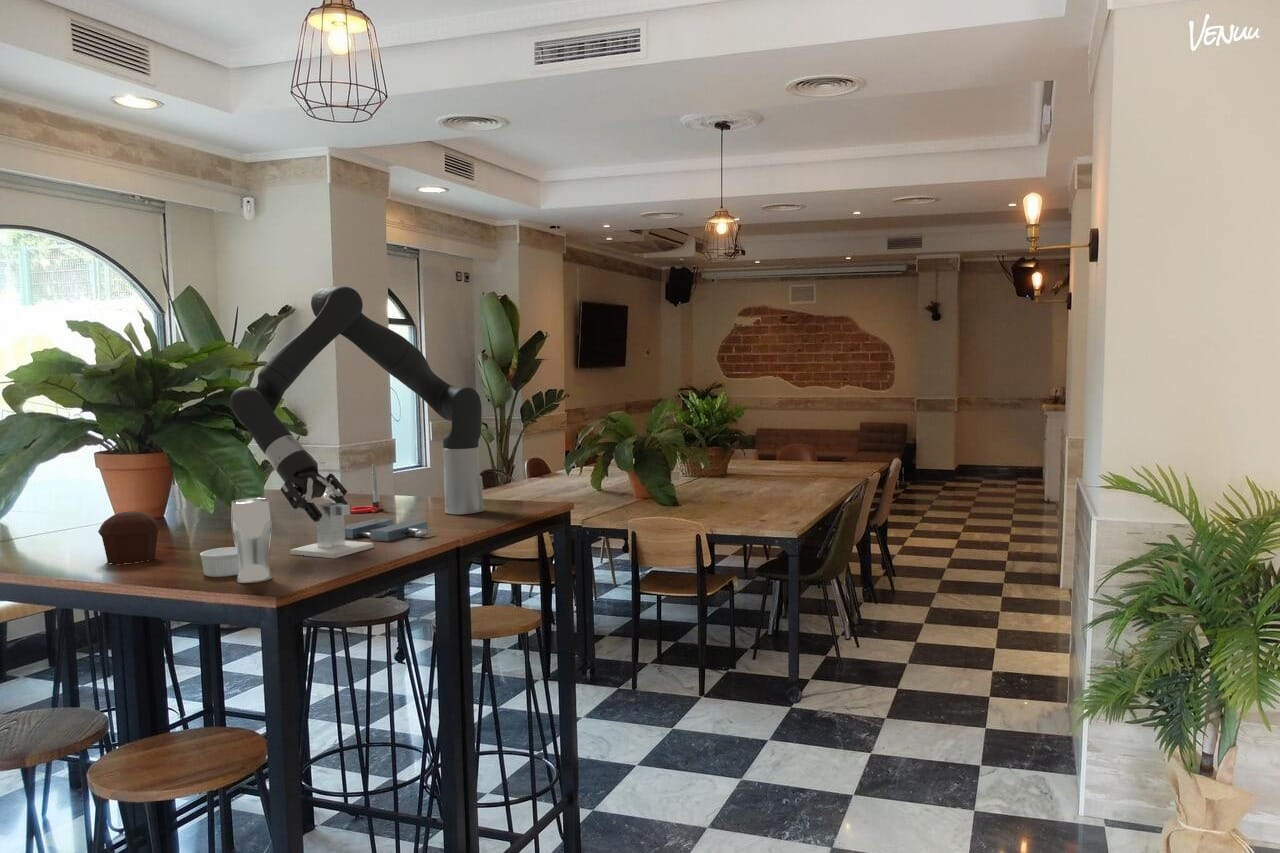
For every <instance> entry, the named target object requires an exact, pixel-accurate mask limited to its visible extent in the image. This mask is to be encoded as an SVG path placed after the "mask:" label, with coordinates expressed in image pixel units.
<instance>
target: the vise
mask: <svg viewBox="0 0 1280 853" xmlns="http://www.w3.org/2000/svg"><path fill="white" fill-rule="evenodd" d="M344 526H345V539H357V538H370V541H374V542H375V541H376V542H378V541H379V542H386V543H387V542H391V541H395V540H399V539H403V538H407V537H410V536H414V537H415V538H416V537H427V536H428V534H431V533H434V532H435V530H434V528H429V529H428V521H424V520H423V521H422V520H407V521H403V522H399V523H395V524H394V519H393V518H371V519H367V520H364V521H360V522H359V521H358V522H355V523H350V524H346V525H344Z"/></svg>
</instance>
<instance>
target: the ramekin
mask: <svg viewBox="0 0 1280 853" xmlns="http://www.w3.org/2000/svg"><path fill="white" fill-rule="evenodd" d="M199 557H200V559H201V564H202V571H203V575H204V576H206V577H211V578H221V577H223V578H224V577H232V576H237V574H238V556H237V551H236V547H235V546H230V547H226V546H225V547H217V548H212V549H207V550H204V551H202V552H200V553H199Z"/></svg>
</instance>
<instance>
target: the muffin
mask: <svg viewBox="0 0 1280 853" xmlns="http://www.w3.org/2000/svg"><path fill="white" fill-rule="evenodd" d="M161 528H162V526H161V525H160V523H159V522H158V521H157V520H156V519H155V518H154V517H153V516H151V515H149V514H147V513H145V512H142V511H122V512H119V513H115V514H113V515H111V516H110V517H108V518H107V519H105V521H103V523H102V524H101V525H100V527H99V529H98V530H97V533H98V534H99V535H100V536H101V540H102V543H103V544H102V545H103V547H104V551H105V556H106V561H107V563H108V564H109V563H114V564H113V565H115V564H124V563H135V562H141V561H147V560H150V559H152V560H154V559H153V558H156V551H157V543H158V535H159V534H158V533H159V531H160V529H161ZM150 561H151V560H150ZM147 562H148V561H147ZM141 563H142V562H141ZM124 565H125V564H124Z"/></svg>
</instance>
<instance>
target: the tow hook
mask: <svg viewBox="0 0 1280 853" xmlns="http://www.w3.org/2000/svg"><path fill="white" fill-rule="evenodd" d="M371 480H372V489H373V490H372V491H373V492H372V500H373V501H372V505H361V506H353V507H350V508H351V511H350V514H360V513H361V514H362V513H364V514H365V513H370V512H371V513H372V514H373V513H376V512H380V511H381V510H383V509H384V505H383V504H382V503H381V501H380V492H379V489H378V478H377V471H376V463H371Z"/></svg>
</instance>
